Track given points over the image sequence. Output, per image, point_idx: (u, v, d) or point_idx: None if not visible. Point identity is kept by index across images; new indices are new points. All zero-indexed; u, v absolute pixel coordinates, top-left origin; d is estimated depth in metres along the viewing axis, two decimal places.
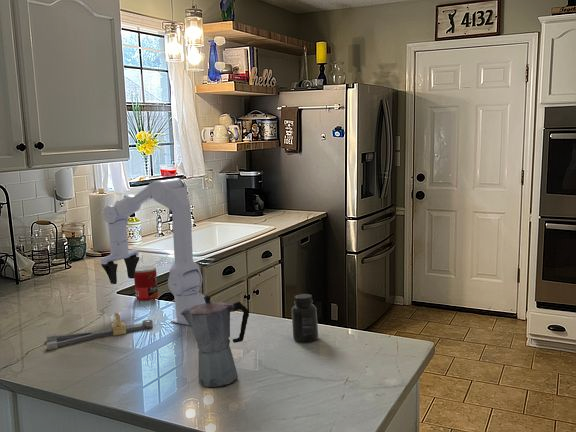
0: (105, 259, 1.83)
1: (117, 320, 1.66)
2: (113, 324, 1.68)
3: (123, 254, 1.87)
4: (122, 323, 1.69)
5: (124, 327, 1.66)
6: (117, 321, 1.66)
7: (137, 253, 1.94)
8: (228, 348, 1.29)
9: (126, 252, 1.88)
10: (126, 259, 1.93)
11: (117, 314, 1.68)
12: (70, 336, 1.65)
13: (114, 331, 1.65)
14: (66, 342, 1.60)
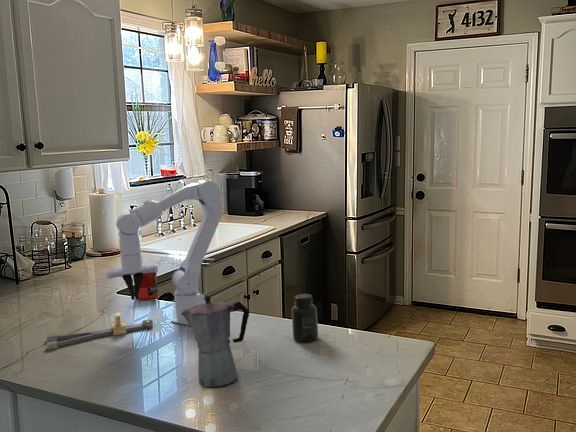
0: (108, 273, 1.65)
1: (117, 320, 1.66)
2: (113, 324, 1.68)
3: (130, 270, 1.65)
4: (122, 323, 1.69)
5: (124, 327, 1.66)
6: (117, 321, 1.66)
7: (155, 269, 1.70)
8: (228, 348, 1.29)
9: (134, 268, 1.66)
10: (133, 276, 1.70)
11: (117, 314, 1.68)
12: (70, 336, 1.65)
13: (114, 331, 1.65)
14: (66, 342, 1.60)
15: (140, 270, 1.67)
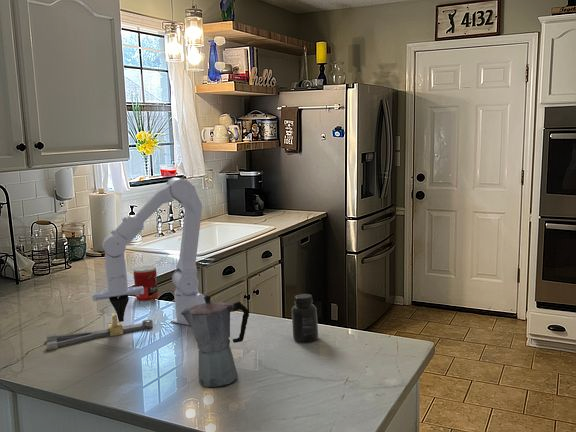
0: (93, 296, 1.64)
1: (114, 321, 1.66)
2: (110, 325, 1.68)
3: (115, 292, 1.64)
4: (119, 324, 1.69)
5: (121, 328, 1.66)
6: (114, 322, 1.66)
7: (142, 291, 1.69)
8: (228, 348, 1.29)
9: (120, 290, 1.65)
10: None
11: (114, 315, 1.68)
12: (70, 336, 1.65)
13: (111, 332, 1.65)
14: (66, 342, 1.60)
15: (126, 292, 1.66)
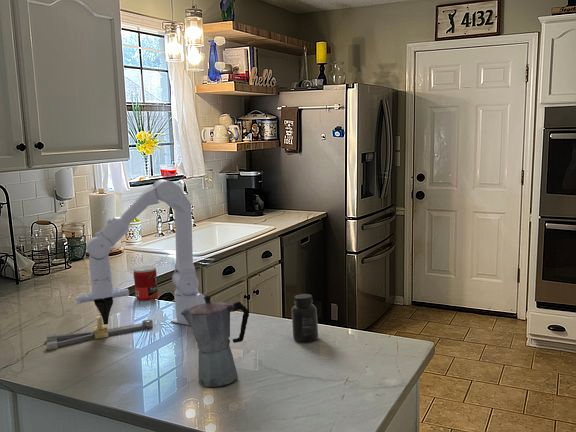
0: (77, 298, 1.62)
1: (99, 323, 1.64)
2: (95, 327, 1.66)
3: (100, 295, 1.63)
4: (104, 326, 1.67)
5: (106, 330, 1.64)
6: (99, 324, 1.64)
7: (127, 294, 1.67)
8: (228, 348, 1.29)
9: (104, 293, 1.63)
10: (103, 301, 1.67)
11: (99, 317, 1.66)
12: (70, 336, 1.65)
13: (96, 334, 1.63)
14: (66, 342, 1.60)
15: (110, 295, 1.64)
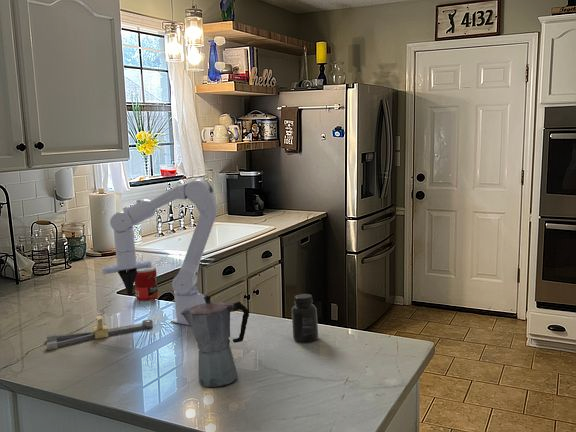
0: (103, 269, 1.71)
1: (99, 323, 1.64)
2: (95, 327, 1.66)
3: (124, 266, 1.72)
4: (104, 326, 1.67)
5: (106, 330, 1.64)
6: (99, 324, 1.64)
7: (149, 265, 1.77)
8: (228, 348, 1.29)
9: (129, 264, 1.72)
10: (127, 272, 1.76)
11: (99, 317, 1.66)
12: (70, 336, 1.65)
13: (96, 334, 1.63)
14: (66, 342, 1.60)
15: (135, 266, 1.73)
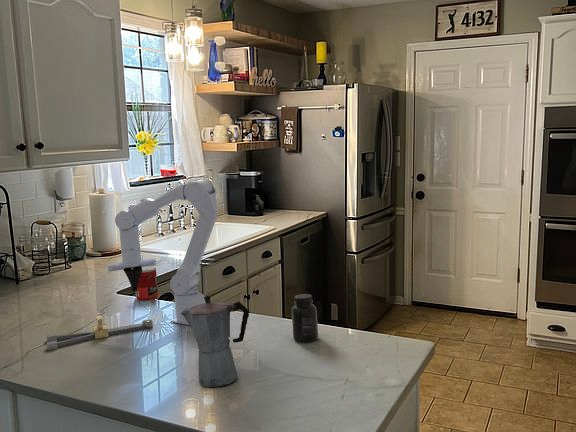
0: (109, 266, 1.74)
1: (99, 323, 1.64)
2: (95, 327, 1.66)
3: (130, 263, 1.75)
4: (104, 326, 1.67)
5: (106, 330, 1.64)
6: (99, 324, 1.64)
7: (154, 263, 1.79)
8: (228, 348, 1.29)
9: (134, 261, 1.75)
10: None
11: (99, 317, 1.66)
12: (70, 336, 1.65)
13: (96, 334, 1.63)
14: (66, 342, 1.60)
15: (140, 263, 1.76)
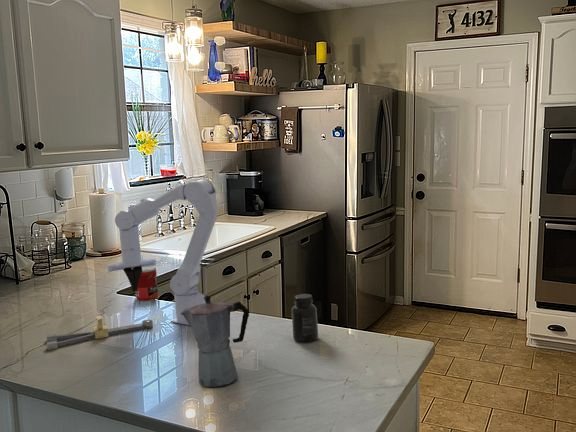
0: (109, 266, 1.74)
1: (99, 323, 1.64)
2: (95, 327, 1.66)
3: (130, 263, 1.75)
4: (104, 326, 1.67)
5: (106, 330, 1.64)
6: (99, 324, 1.64)
7: (154, 263, 1.79)
8: (228, 348, 1.29)
9: (134, 261, 1.75)
10: None
11: (99, 317, 1.66)
12: (70, 336, 1.65)
13: (96, 334, 1.63)
14: (66, 342, 1.60)
15: (140, 263, 1.76)
